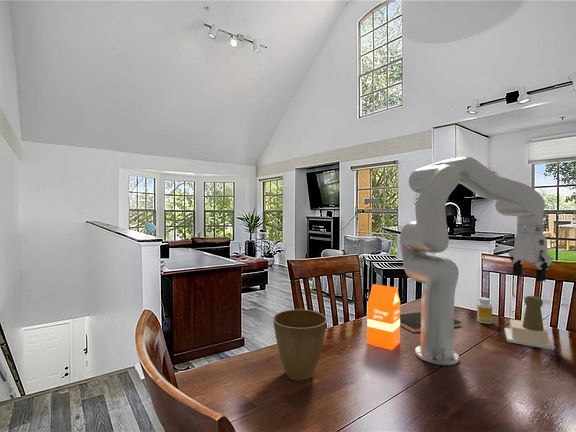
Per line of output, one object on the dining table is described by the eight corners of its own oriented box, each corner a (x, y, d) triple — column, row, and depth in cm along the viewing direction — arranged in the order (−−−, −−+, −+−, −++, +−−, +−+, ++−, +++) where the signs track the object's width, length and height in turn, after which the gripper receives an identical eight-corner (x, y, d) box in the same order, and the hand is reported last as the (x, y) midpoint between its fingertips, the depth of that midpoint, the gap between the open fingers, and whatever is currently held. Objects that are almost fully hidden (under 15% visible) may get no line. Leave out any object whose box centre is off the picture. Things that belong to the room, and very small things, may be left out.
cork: (538, 325, 118) (538, 295, 117) (547, 331, 112) (548, 299, 111) (519, 324, 119) (519, 294, 119) (527, 330, 113) (528, 298, 113)
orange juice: (392, 350, 108) (392, 289, 107) (366, 343, 113) (367, 285, 113) (400, 342, 114) (400, 285, 114) (375, 336, 119) (376, 282, 119)
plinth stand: (554, 349, 109) (554, 335, 109) (507, 341, 115) (507, 327, 115) (546, 336, 120) (547, 323, 120) (504, 330, 127) (504, 317, 126)
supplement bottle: (495, 324, 134) (495, 300, 133) (481, 323, 134) (482, 300, 134) (487, 319, 139) (487, 296, 139) (474, 319, 139) (474, 296, 139)
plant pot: (266, 366, 96) (266, 312, 95) (312, 359, 101) (312, 307, 101) (283, 393, 82) (283, 330, 82) (336, 382, 87) (336, 323, 87)
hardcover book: (461, 327, 131) (461, 322, 130) (413, 334, 123) (413, 328, 123) (432, 315, 146) (432, 310, 146) (388, 320, 139) (388, 315, 139)
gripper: (562, 231, 109) (560, 283, 109) (519, 228, 126) (518, 273, 126) (542, 231, 108) (540, 283, 108) (501, 228, 125) (500, 273, 125)
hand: (528, 277), depth 117 cm, fingers open, 9 cm apart
